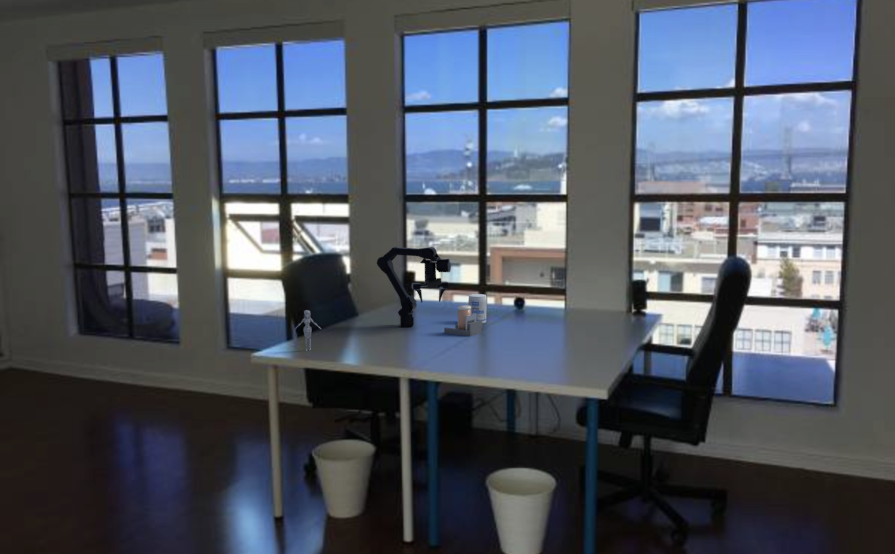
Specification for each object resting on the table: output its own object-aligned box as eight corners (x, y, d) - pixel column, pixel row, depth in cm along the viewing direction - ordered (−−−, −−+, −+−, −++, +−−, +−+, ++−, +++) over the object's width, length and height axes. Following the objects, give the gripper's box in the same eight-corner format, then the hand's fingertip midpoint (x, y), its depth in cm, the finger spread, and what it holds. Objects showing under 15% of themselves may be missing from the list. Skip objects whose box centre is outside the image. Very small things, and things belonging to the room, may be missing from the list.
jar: (459, 334, 343) (459, 307, 341) (456, 331, 349) (456, 305, 348) (472, 333, 344) (472, 307, 343) (469, 330, 351) (469, 305, 349)
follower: (465, 334, 342) (465, 315, 340) (474, 331, 349) (474, 313, 347) (467, 334, 341) (467, 316, 340) (476, 331, 348) (476, 313, 347)
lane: (444, 333, 347) (444, 320, 346) (456, 329, 356) (456, 317, 355) (470, 337, 339) (470, 323, 338) (482, 333, 348) (482, 320, 347)
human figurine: (294, 351, 314) (292, 311, 311) (295, 349, 317) (293, 310, 315) (321, 350, 315) (320, 310, 313) (322, 348, 319) (320, 309, 316)
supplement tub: (471, 324, 368) (471, 297, 366) (465, 321, 377) (465, 294, 375) (489, 323, 371) (489, 295, 369) (483, 320, 380) (482, 293, 378)
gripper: (414, 274, 350) (415, 305, 352) (451, 273, 353) (451, 304, 355) (411, 271, 361) (411, 302, 363) (447, 270, 364) (447, 300, 366)
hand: (430, 302), depth 361 cm, fingers open, 9 cm apart
